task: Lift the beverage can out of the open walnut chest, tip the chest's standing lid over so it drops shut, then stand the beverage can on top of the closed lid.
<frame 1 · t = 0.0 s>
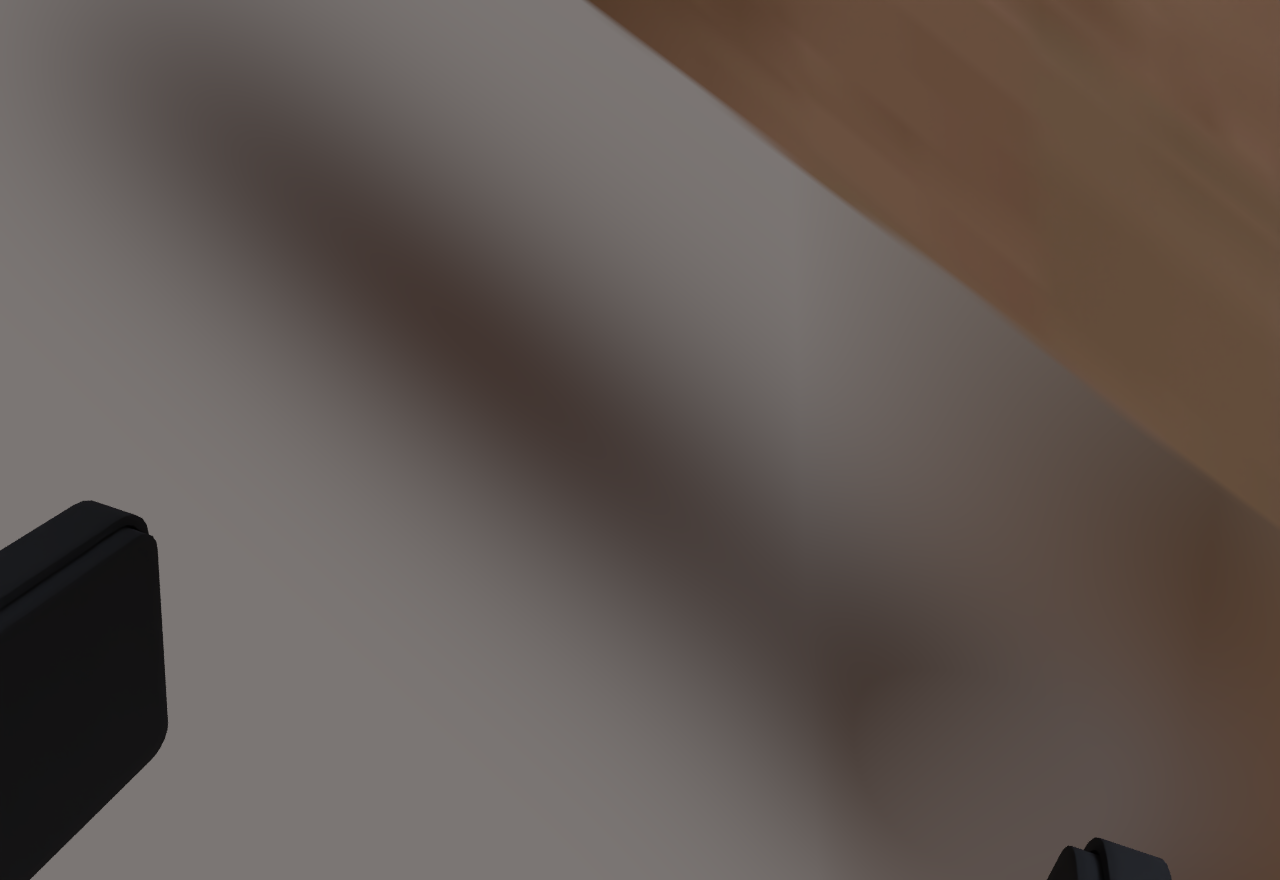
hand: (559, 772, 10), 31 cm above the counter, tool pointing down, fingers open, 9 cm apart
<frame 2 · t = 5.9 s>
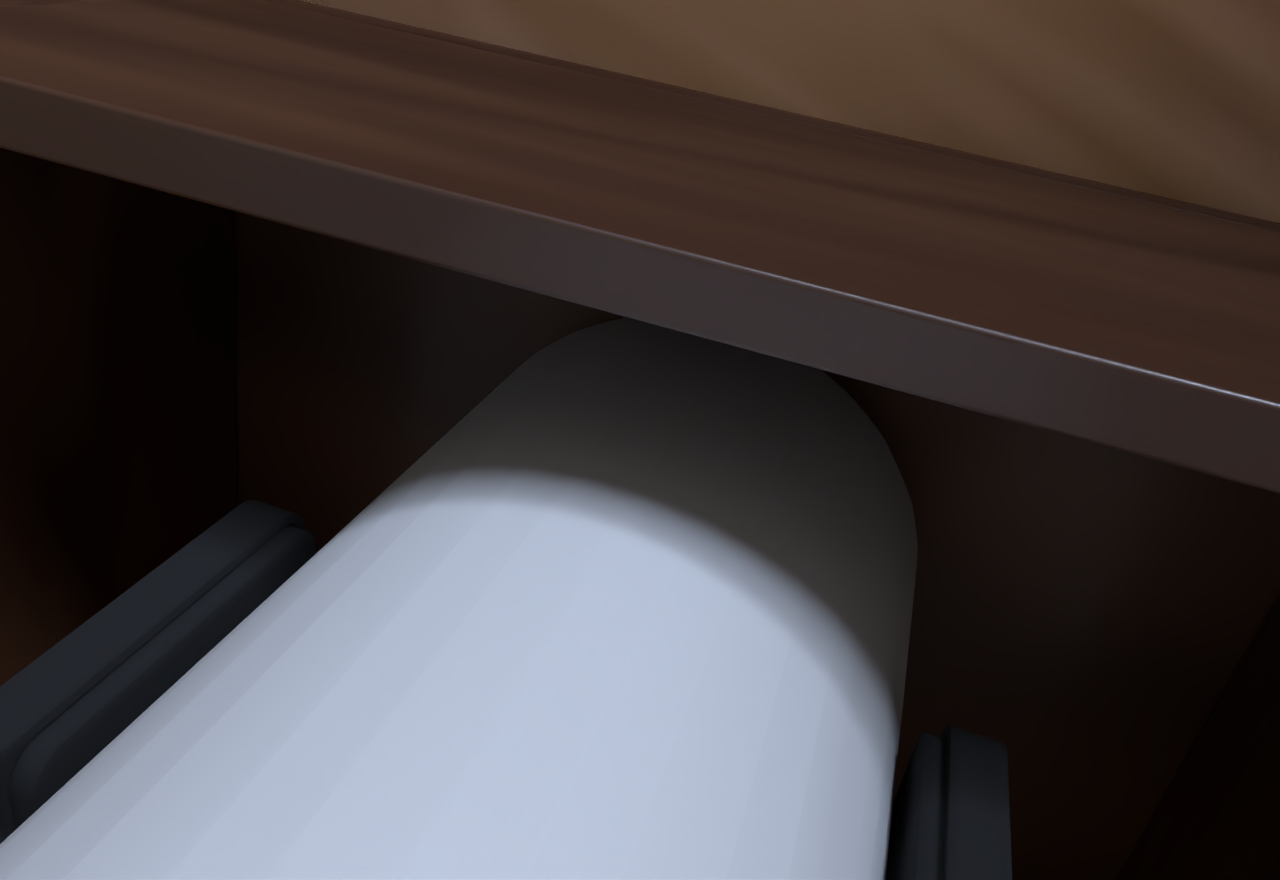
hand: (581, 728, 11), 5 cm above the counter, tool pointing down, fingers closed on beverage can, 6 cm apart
beverage can: (695, 503, 15), resting on chest, touching gripper
chest: (701, 490, 16), on the counter
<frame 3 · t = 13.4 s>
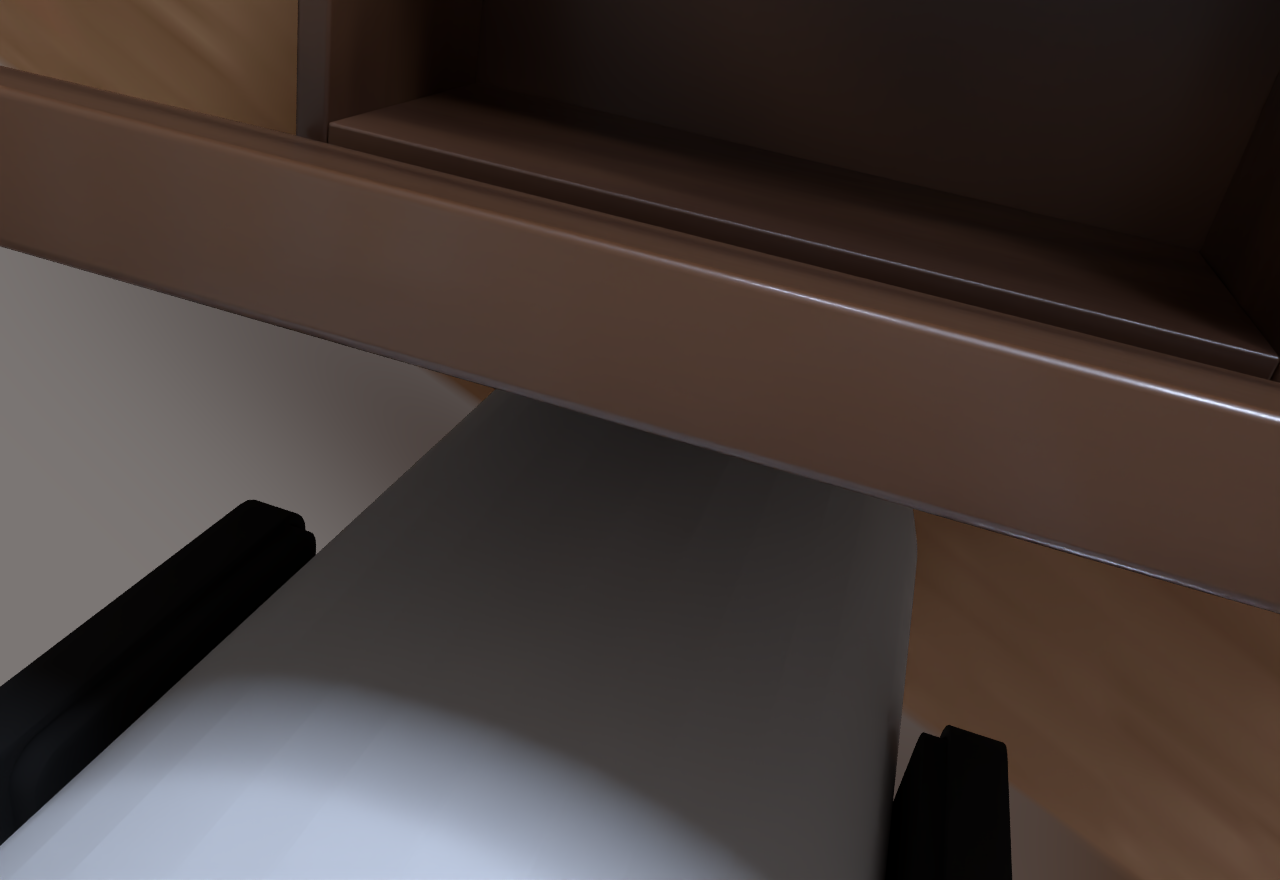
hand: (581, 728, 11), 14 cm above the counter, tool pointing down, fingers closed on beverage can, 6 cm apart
beverage can: (694, 504, 15), point 9 cm above the counter, touching chest lid, gripper
chest lid: (683, 276, 10), point 13 cm above the counter, hinge at 74.1°, touching beverage can
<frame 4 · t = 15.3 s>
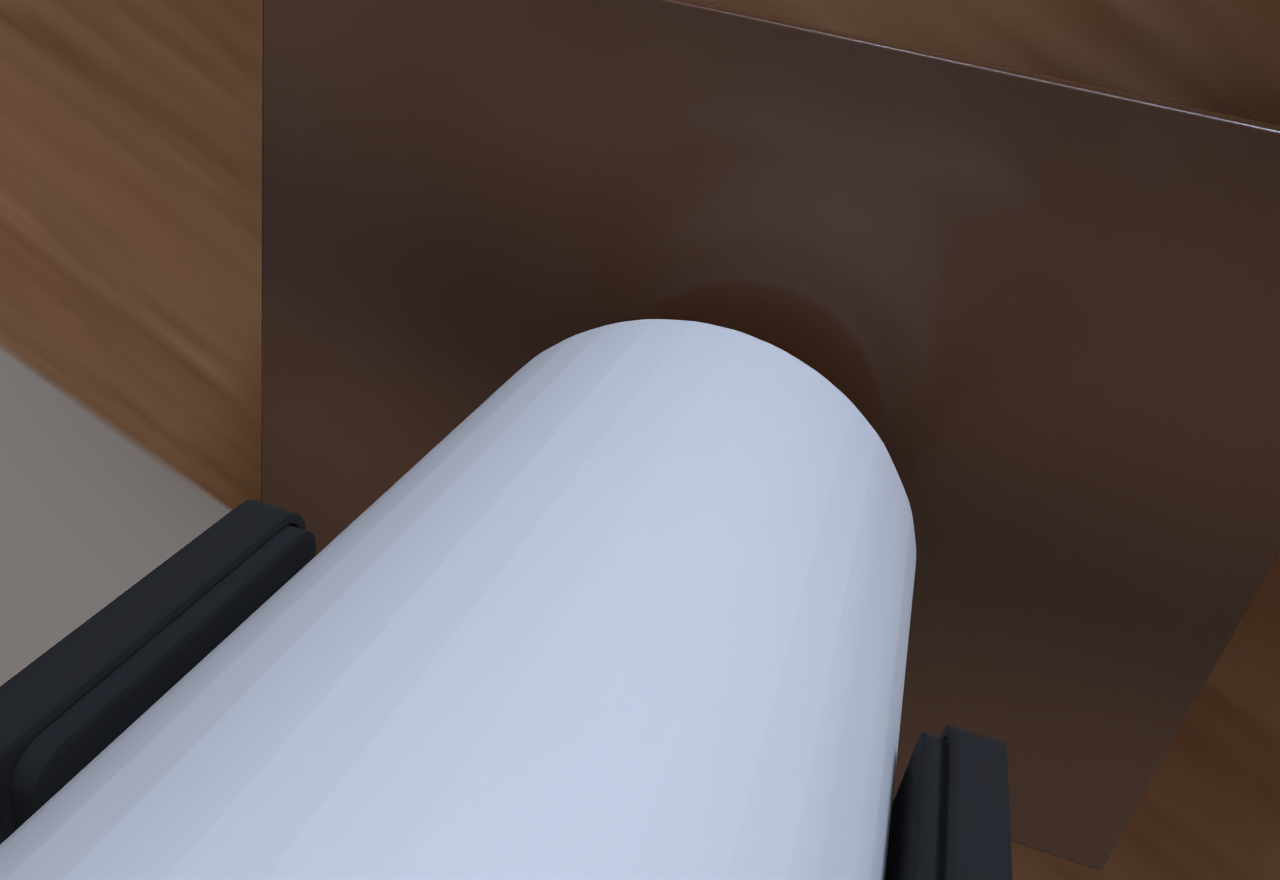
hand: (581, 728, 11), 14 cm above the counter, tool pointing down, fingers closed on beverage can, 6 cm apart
beverage can: (694, 506, 15), point 9 cm above the counter, touching gripper
chest lid: (721, 424, 17), point 7 cm above the counter, hinge at -0.2°
when the fingers open (12 cm above the counter, at t = 16.4 s): beverage can stays where it is, resting on chest lid.
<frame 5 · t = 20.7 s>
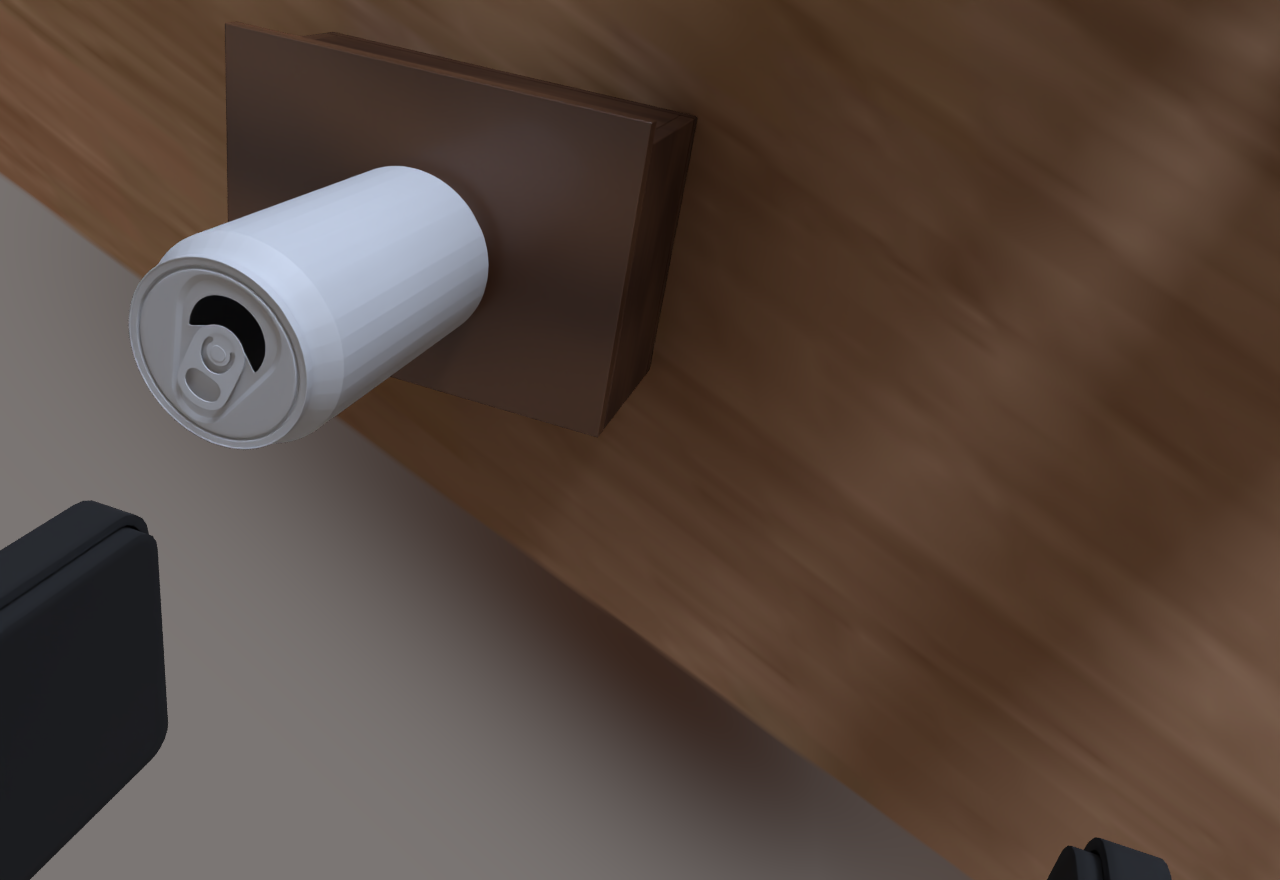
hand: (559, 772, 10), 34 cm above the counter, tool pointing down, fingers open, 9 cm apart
beverage can: (420, 247, 39), point 7 cm above the counter, touching chest lid
chest lid: (422, 235, 39), point 7 cm above the counter, hinge at -0.3°, touching beverage can, chest
chest: (495, 205, 45), on the counter
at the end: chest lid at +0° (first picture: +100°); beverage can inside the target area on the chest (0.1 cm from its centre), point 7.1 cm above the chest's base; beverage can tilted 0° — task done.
